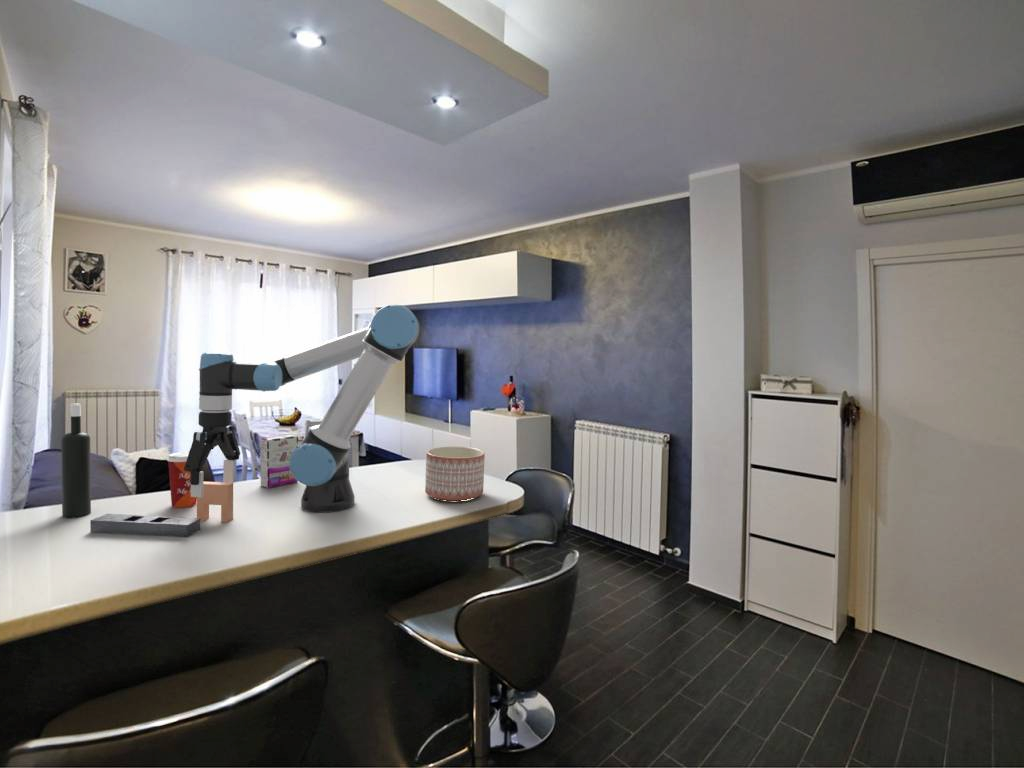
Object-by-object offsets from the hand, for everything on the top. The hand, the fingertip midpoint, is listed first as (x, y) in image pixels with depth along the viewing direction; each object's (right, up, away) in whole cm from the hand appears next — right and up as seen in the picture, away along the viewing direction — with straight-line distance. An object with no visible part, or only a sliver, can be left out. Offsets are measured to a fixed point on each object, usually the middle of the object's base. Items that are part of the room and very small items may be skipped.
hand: (213, 489), depth 133 cm
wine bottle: (-37, -7, 0) cm, 38 cm away
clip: (0, -8, +1) cm, 8 cm away
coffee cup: (-16, -7, +12) cm, 21 cm away
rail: (-11, -8, -9) cm, 17 cm away
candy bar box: (0, -6, +38) cm, 38 cm away
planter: (+61, -9, +32) cm, 69 cm away
